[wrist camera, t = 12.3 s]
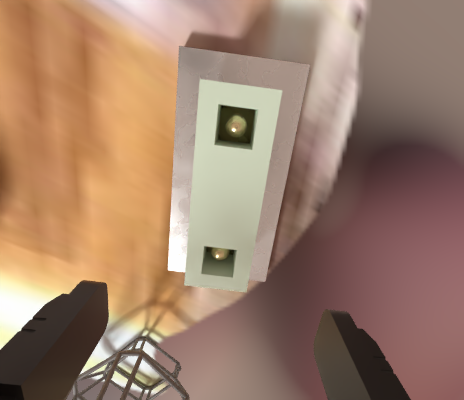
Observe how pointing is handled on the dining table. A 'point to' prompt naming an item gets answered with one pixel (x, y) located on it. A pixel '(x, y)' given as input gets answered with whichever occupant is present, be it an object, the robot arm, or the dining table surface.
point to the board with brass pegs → (233, 140)
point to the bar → (228, 185)
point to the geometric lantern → (112, 368)
